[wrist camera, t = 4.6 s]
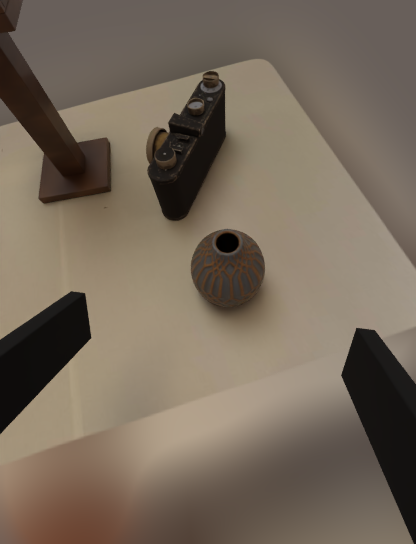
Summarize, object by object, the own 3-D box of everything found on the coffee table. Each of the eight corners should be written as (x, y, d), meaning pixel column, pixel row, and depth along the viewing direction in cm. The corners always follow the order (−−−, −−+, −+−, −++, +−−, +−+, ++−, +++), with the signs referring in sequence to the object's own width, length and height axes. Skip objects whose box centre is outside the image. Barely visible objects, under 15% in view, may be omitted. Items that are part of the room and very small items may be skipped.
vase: (215, 244, 30) (210, 193, 22) (270, 270, 28) (287, 225, 20) (183, 294, 28) (165, 258, 20) (241, 325, 26) (248, 300, 18)
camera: (188, 122, 38) (179, 60, 31) (231, 131, 37) (232, 69, 30) (137, 210, 33) (112, 160, 25) (186, 224, 31) (173, 176, 24)
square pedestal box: (41, 205, 34) (-230, -54, 14) (47, 153, 38) (-160, -110, 18) (112, 192, 34) (-54, -85, 14) (111, 141, 38) (-21, -135, 18)
